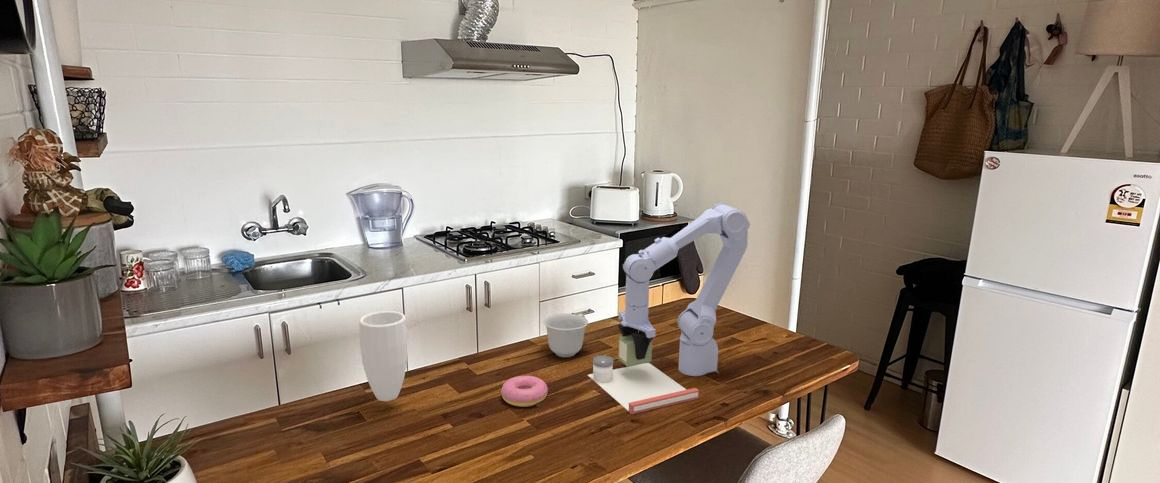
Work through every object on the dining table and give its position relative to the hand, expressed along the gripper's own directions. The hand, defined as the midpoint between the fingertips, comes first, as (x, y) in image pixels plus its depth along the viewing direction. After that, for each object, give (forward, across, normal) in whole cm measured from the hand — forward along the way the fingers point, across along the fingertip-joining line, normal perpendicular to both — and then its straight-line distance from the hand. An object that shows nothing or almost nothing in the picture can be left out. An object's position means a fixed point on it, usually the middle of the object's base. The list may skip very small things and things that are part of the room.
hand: (635, 354), depth 161 cm
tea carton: (+1, 0, 0) cm, 1 cm away
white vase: (+6, -9, -59) cm, 60 cm away
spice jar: (+5, -1, -9) cm, 10 cm away
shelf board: (+6, +6, -2) cm, 9 cm away
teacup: (+6, -20, -9) cm, 23 cm away
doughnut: (+6, -1, -29) cm, 30 cm away
